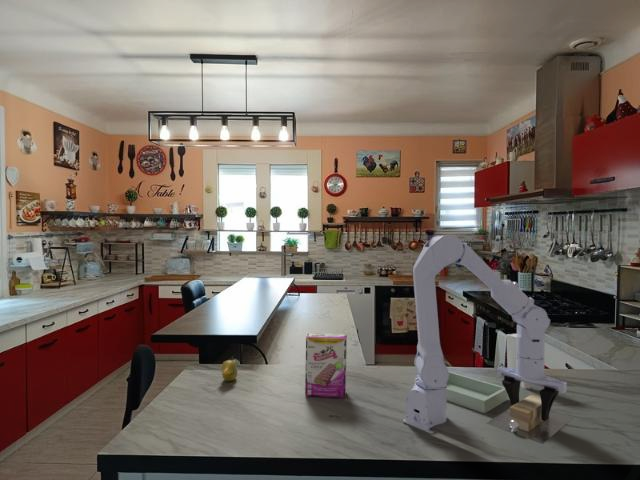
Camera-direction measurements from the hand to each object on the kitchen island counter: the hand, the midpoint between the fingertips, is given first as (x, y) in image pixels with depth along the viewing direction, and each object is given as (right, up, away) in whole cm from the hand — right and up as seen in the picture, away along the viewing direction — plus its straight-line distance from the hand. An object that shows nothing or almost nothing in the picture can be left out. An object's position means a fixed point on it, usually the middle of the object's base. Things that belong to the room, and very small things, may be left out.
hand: (529, 414), depth 92 cm
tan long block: (0, -1, 0) cm, 1 cm away
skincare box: (+11, -3, +24) cm, 27 cm away
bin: (-10, -2, +15) cm, 18 cm away
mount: (0, -2, 0) cm, 2 cm away
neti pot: (-76, -2, +28) cm, 81 cm away
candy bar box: (-47, -2, +18) cm, 50 cm away
